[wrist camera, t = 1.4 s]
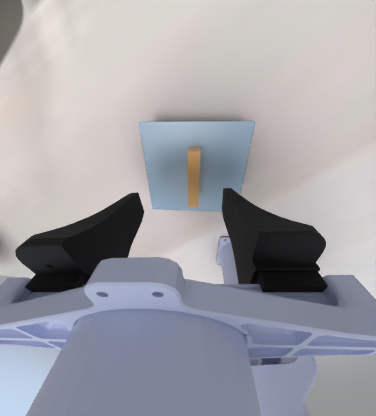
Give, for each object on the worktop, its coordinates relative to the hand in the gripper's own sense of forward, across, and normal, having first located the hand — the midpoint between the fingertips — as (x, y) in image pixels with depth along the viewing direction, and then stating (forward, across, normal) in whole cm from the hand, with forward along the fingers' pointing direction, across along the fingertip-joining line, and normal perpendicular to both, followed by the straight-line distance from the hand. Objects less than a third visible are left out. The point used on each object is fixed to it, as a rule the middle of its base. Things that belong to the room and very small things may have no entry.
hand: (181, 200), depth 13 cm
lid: (+8, -1, 0) cm, 8 cm away
